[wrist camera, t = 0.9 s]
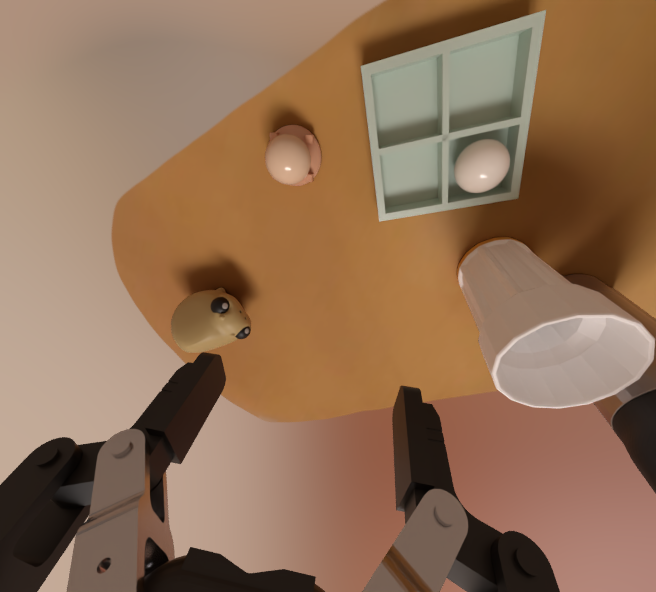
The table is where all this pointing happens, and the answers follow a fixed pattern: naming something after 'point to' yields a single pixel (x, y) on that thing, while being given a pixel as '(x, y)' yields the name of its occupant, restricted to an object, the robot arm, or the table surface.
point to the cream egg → (482, 165)
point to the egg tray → (450, 115)
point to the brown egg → (287, 159)
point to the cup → (548, 329)
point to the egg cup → (311, 144)
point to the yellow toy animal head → (209, 321)
